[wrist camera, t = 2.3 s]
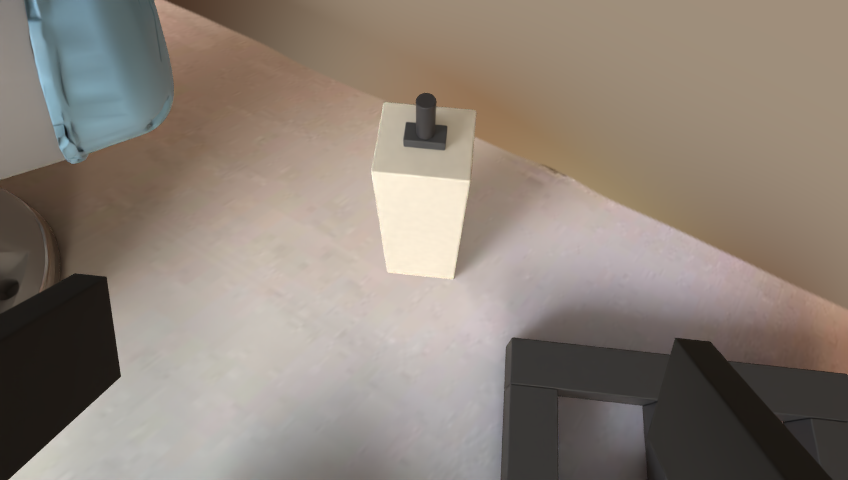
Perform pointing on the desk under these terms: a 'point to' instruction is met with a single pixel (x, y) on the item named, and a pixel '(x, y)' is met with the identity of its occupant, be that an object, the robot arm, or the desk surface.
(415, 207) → the white tall block
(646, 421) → the black frame base
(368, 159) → the desk surface
